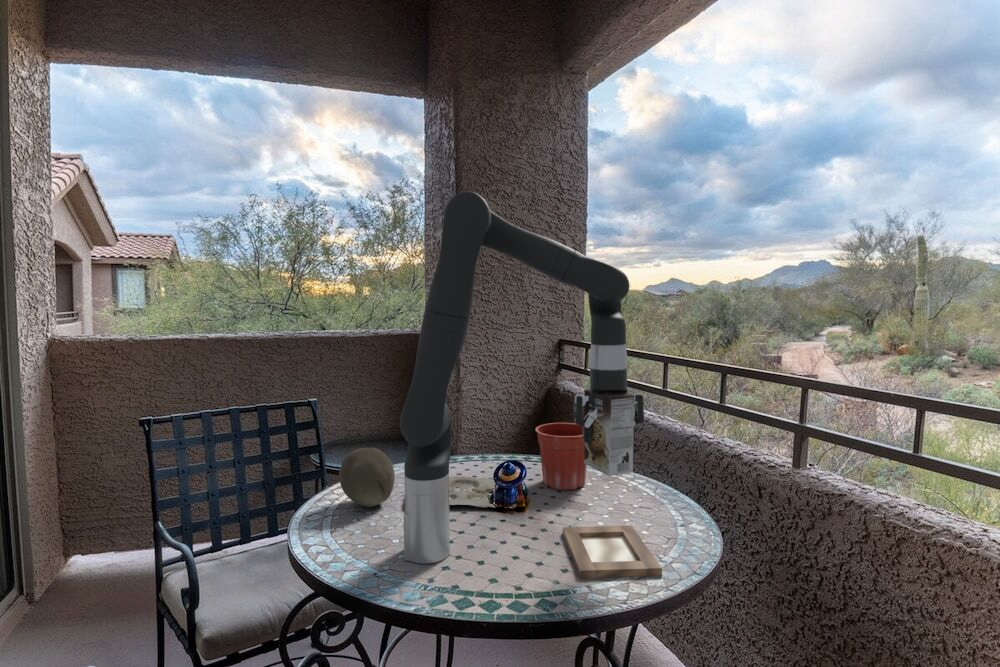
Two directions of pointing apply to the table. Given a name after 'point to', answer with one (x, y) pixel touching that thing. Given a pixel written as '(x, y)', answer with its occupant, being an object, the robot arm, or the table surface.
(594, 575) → the walnut frame
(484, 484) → the stone relief
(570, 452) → the flower pot
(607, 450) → the coffee box
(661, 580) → the table surface
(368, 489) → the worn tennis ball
